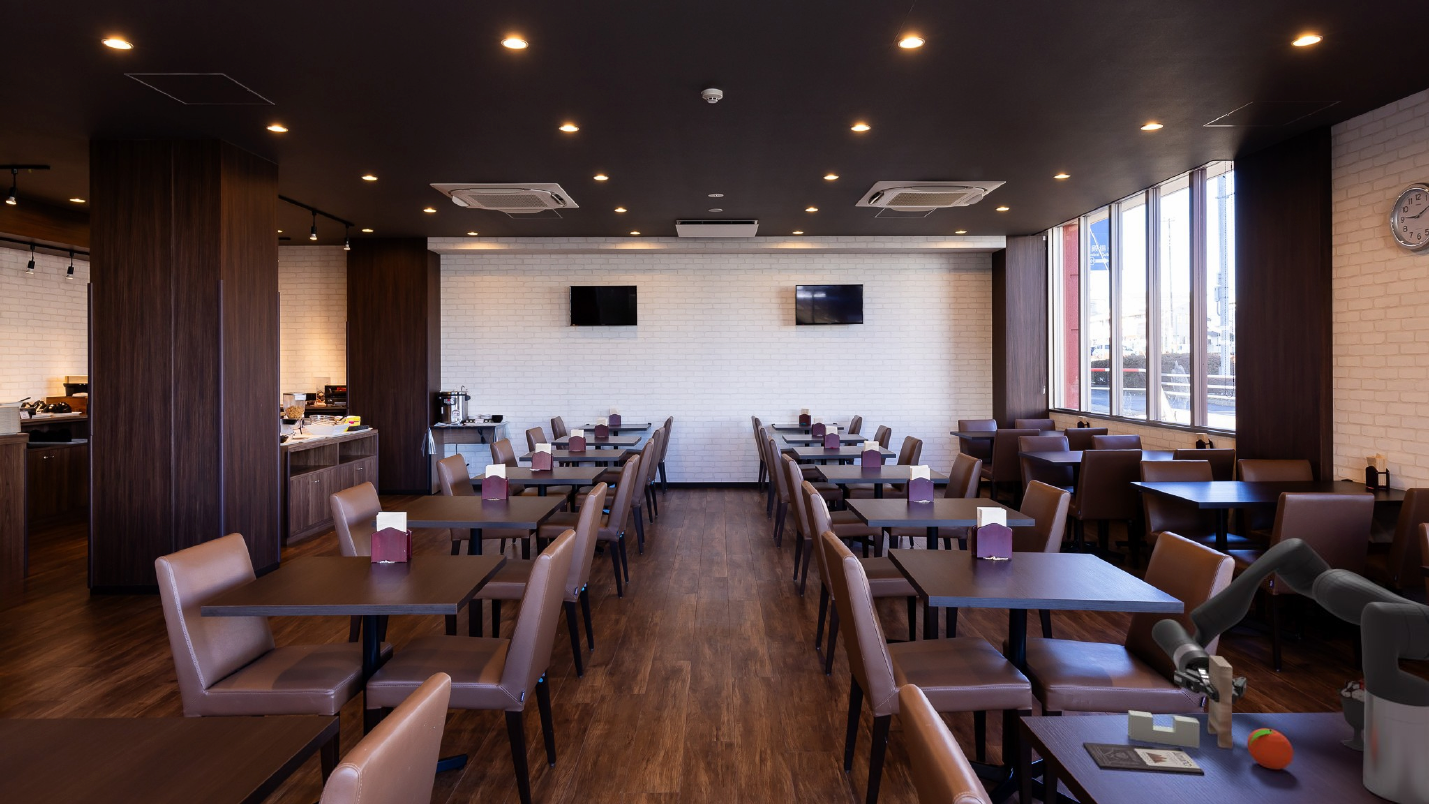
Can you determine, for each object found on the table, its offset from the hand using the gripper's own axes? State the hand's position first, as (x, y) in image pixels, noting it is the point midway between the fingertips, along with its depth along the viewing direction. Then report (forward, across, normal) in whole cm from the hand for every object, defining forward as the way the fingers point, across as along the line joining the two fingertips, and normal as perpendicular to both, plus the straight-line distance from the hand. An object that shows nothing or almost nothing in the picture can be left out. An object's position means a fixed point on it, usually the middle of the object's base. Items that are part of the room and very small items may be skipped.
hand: (1225, 698), depth 145 cm
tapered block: (-3, 0, -10) cm, 10 cm away
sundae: (-8, -25, -10) cm, 28 cm away
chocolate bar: (+10, +17, -10) cm, 22 cm away
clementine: (+7, -5, -10) cm, 13 cm away
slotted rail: (+1, +11, -10) cm, 15 cm away
